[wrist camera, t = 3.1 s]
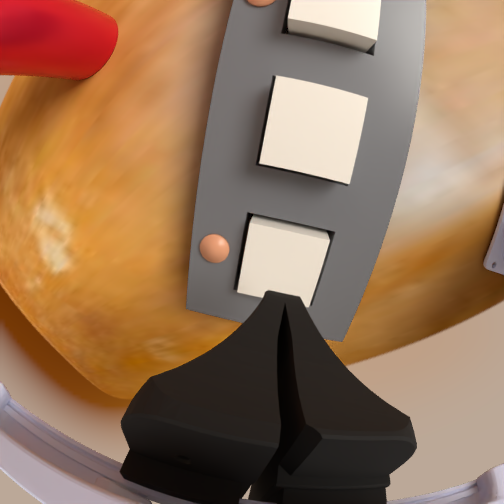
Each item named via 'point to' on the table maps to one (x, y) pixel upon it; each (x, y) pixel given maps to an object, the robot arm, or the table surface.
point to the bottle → (54, 38)
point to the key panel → (293, 182)
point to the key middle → (313, 129)
